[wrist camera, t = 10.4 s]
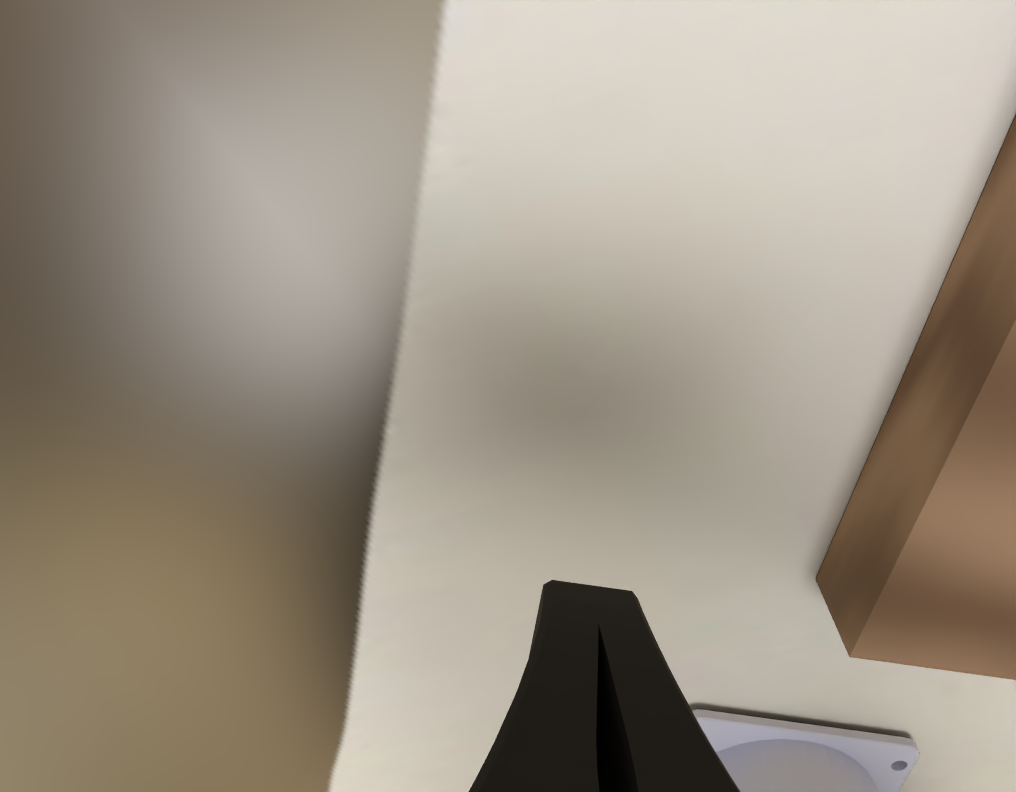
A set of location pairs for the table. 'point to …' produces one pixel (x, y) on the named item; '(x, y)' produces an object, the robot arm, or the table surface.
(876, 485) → the walnut platform
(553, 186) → the table surface
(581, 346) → the table surface
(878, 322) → the table surface
